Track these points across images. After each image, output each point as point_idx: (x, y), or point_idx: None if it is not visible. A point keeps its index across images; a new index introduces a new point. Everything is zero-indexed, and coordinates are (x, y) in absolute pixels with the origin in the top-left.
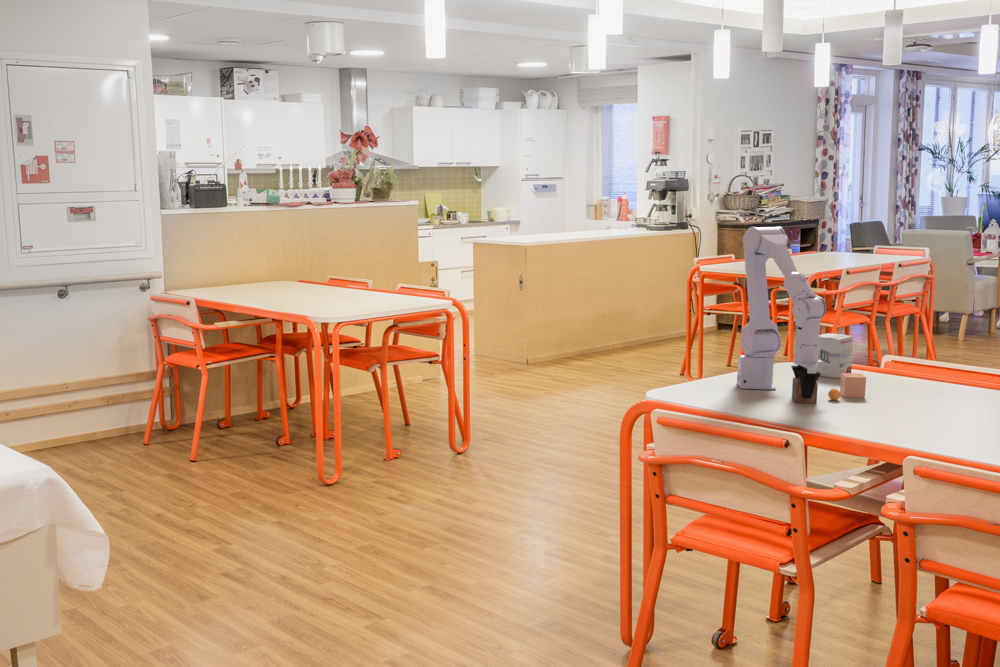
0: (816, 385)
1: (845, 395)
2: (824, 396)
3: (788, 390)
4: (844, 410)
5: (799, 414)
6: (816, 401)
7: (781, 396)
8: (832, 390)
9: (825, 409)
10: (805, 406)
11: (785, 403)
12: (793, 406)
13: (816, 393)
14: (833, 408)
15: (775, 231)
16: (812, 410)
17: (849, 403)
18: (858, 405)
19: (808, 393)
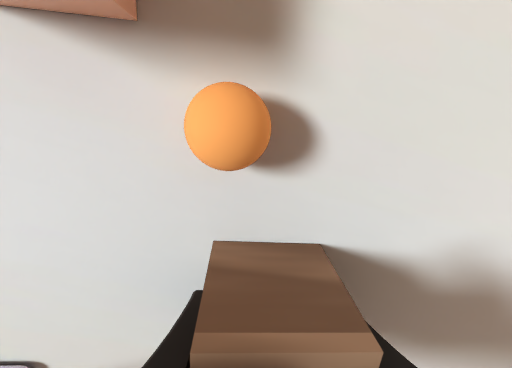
0: (365, 333)
1: (129, 6)
2: (130, 155)
3: (12, 309)
4: (482, 144)
5: (498, 344)
6: (323, 250)
7: None
8: (246, 154)
9: (442, 232)
10: (373, 301)
11: None
12: None
13: (339, 283)
14: (430, 189)
15: None
16: (449, 289)
17: (321, 50)
18: (380, 3)
19: None
